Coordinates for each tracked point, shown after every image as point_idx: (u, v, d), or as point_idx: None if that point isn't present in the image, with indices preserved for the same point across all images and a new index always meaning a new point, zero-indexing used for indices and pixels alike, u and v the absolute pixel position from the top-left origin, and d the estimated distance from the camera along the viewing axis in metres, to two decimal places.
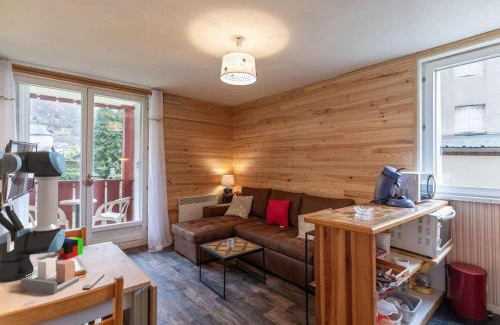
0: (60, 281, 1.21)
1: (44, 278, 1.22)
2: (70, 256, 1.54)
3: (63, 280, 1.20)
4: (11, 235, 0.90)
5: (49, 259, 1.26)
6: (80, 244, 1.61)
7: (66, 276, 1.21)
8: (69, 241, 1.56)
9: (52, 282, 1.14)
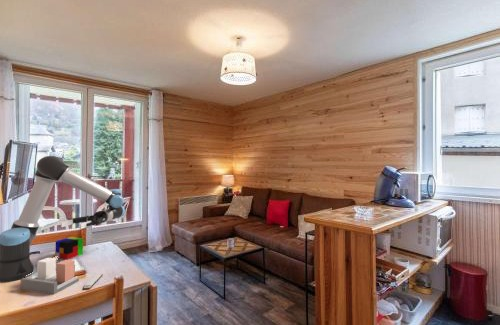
0: (60, 281, 1.21)
1: (44, 278, 1.22)
2: (70, 256, 1.54)
3: (63, 280, 1.20)
4: None
5: (49, 259, 1.26)
6: (80, 244, 1.61)
7: (66, 276, 1.21)
8: (69, 241, 1.56)
9: (52, 282, 1.14)
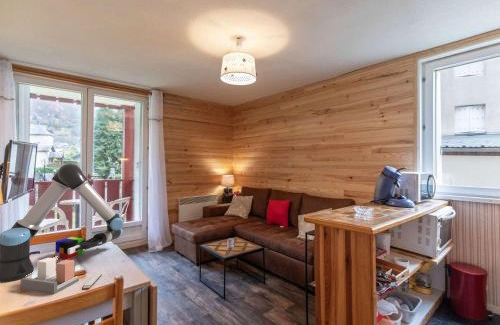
0: (60, 281, 1.21)
1: (44, 278, 1.22)
2: (70, 256, 1.54)
3: (63, 280, 1.20)
4: None
5: (49, 259, 1.26)
6: None
7: (66, 276, 1.21)
8: (69, 241, 1.56)
9: (52, 282, 1.14)
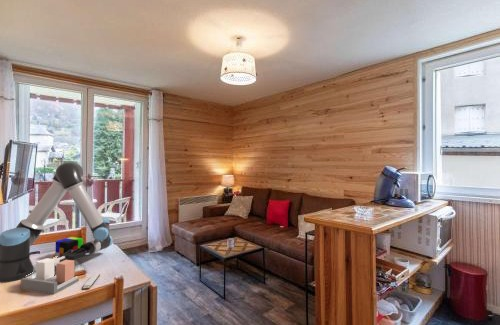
0: (60, 281, 1.21)
1: (43, 279, 1.22)
2: None
3: (63, 280, 1.20)
4: None
5: (48, 260, 1.25)
6: (80, 244, 1.61)
7: (66, 276, 1.21)
8: (69, 241, 1.56)
9: (52, 282, 1.14)
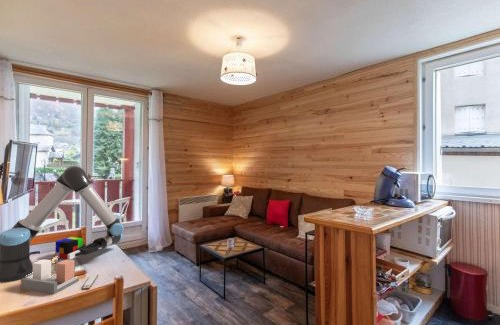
0: (60, 281, 1.21)
1: None
2: None
3: (63, 280, 1.20)
4: None
5: (44, 261, 1.23)
6: (80, 244, 1.61)
7: (66, 276, 1.21)
8: (69, 241, 1.56)
9: (52, 282, 1.14)
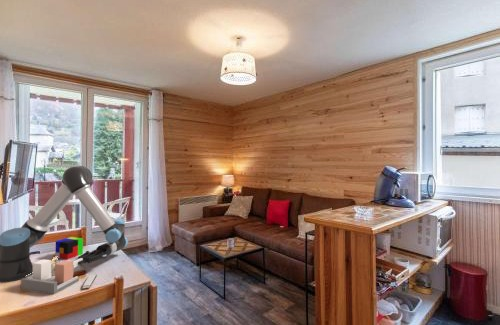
0: (59, 282, 1.20)
1: None
2: (70, 256, 1.54)
3: (62, 281, 1.20)
4: None
5: (44, 261, 1.23)
6: (80, 244, 1.61)
7: (65, 276, 1.20)
8: (69, 241, 1.56)
9: (52, 282, 1.14)
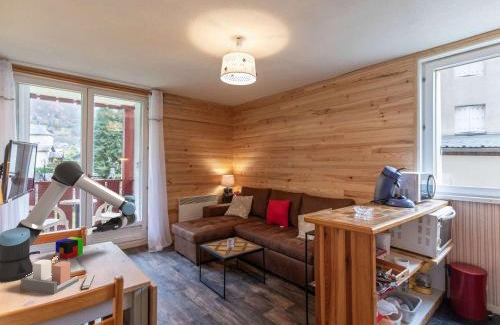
0: None
1: None
2: (70, 256, 1.54)
3: (59, 282, 1.18)
4: None
5: (44, 261, 1.23)
6: (80, 244, 1.61)
7: (62, 278, 1.19)
8: (69, 241, 1.56)
9: (52, 282, 1.14)
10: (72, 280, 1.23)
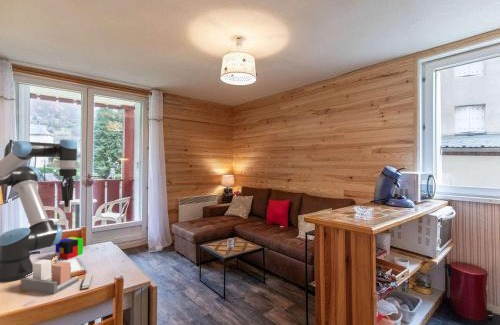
0: None
1: None
2: (70, 256, 1.54)
3: (59, 282, 1.18)
4: None
5: (44, 261, 1.23)
6: (80, 244, 1.61)
7: (62, 278, 1.19)
8: (69, 241, 1.56)
9: (52, 282, 1.14)
10: (72, 280, 1.23)
